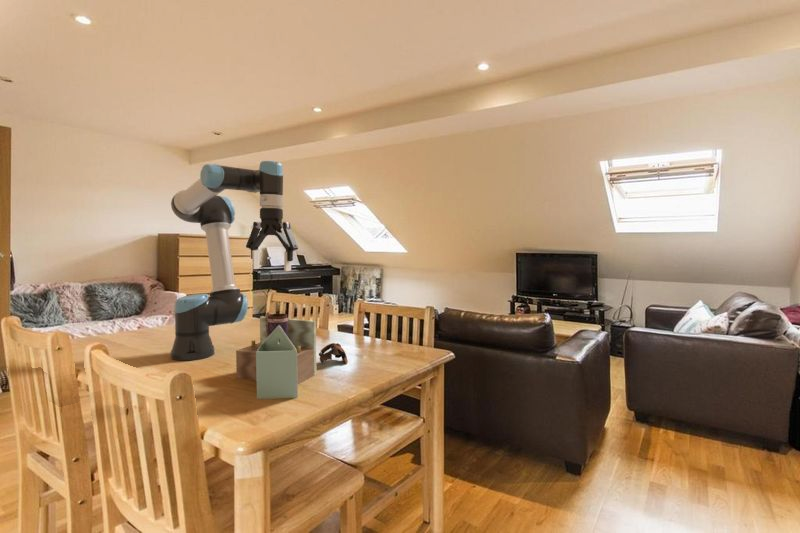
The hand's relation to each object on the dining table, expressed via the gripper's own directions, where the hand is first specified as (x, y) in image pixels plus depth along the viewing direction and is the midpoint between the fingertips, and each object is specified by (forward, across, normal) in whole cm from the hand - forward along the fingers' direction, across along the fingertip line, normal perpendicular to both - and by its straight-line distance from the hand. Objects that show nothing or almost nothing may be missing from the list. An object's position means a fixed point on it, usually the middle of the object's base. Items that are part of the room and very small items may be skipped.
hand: (271, 269), depth 144 cm
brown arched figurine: (+34, +17, +14) cm, 41 cm away
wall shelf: (+34, +8, -7) cm, 36 cm away
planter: (+34, +17, -21) cm, 43 cm away
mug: (+25, +8, -8) cm, 28 cm away
